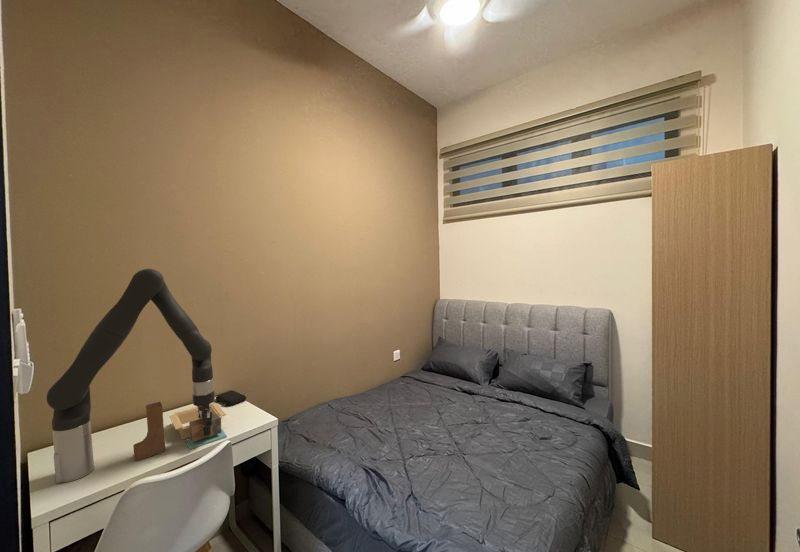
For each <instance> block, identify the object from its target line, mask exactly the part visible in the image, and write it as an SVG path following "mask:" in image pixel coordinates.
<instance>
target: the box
mask: <svg viewBox="0 0 800 552" xmlns="http://www.w3.org/2000/svg"><path fill="white" fill-rule="evenodd" d="M203 419H204V418H203ZM188 423H189V426H190V437H189V439H190V438H191V439H192V441H193V442H194V441H197V440H200V439H203V438H207V437H210V436H213V435H216V434H219V433H221V429H222V419H221V418H220V417H219V415H218V414H215V415H212V426H210V430H211V434H210V435H208V436H204V427H203V421H201V419H198V420H195V421H191V422H188ZM207 423H209V422H207Z"/></svg>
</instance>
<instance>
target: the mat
mask: <svg viewBox="0 0 800 552" xmlns="http://www.w3.org/2000/svg"><path fill="white" fill-rule="evenodd" d="M225 438H226V439H227V438H228V435H227V434H226V433H225V431H224V430H223V429H222V428H221V433H219V434H216V435H213V436H210V437H207V438H203V439H200V440H197V441H194V442H193V441H192V439H191V438H190V437H189V438H186V439H185V443H186V445H187V447H189V448H188V449H190V450H193V449H196V448H200V447H203V446H204V445H208V444H211V443H213V442H216V441H220V440H223V439H225Z"/></svg>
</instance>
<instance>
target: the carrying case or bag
mask: <svg viewBox="0 0 800 552" xmlns="http://www.w3.org/2000/svg"><path fill="white" fill-rule="evenodd" d="M246 400H247V396H246V395H244V394H242V393H240V392H238V391H236V390H231V389H230V390H228V391H225V392H223V393H219V394H218V395H216V397H215V401H217V402H219V403H221V404H222V405H223V406H227V407H233V406H235V405H238V404H241V403H243V402H245V401H246Z"/></svg>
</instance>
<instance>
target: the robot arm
mask: <svg viewBox="0 0 800 552" xmlns="http://www.w3.org/2000/svg"><path fill="white" fill-rule="evenodd" d="M150 301H152V303H153V304H154V305H155V306H156V308H157V309H158V310H159V312H160V313H161V315H162V317H163V319H164V320H165V322H166V323H167V325H168V326H169V327H170V330H171V331H172V332H173V333H174V334H175V336H176V337H177V338H178V339H179V341H181V342H182V344H183V346H184V348H185V349H186V351H187V353H189V355H190V356H191V364H192V366H191V367H192V368H191V380H192V384H191V392H192V396H191V397H192V405H194V406H195V407H198V418H200V419H201V421H203V427H204V436H208V435H210V434H211V430H210V426H212V412H211V407H209V404H213V402H215V401H216V397H215V396H216V395H215V393H216V392H215V381H214V371H213V365H212V352H213V351H212V344H211V342H210V341H208V340H207V339H206V338H204V336H203V335H202V334H201V333H200V331H199V328H198V327H197V325H196V324H195V322H194V321H193V320H192V319H191V317H190V316H189V315H188V314H187V312H186V311H185V310H184V309H183V308H182V306H181V305H180V304H179V302H177V300H176V299H175V298H174V296H173V294H172V292H171V291H170V289H169V287H168V285H167V283H166V282H165V278H164V276H163V274H162V273H161V272H160V271H159V270H157V269H153V268H145V269H144V268H143V269H140V270H139V271H137V272H135V274H133V276H132V278H131V280H130V282H129V283H128V285H127V287H126V289H125V290H124V292H123V293H122V295H121V297H120V298H119V300H118V301H117V302H116V304H115V305H113V307H112V308H111V309H110V310H109V311H108V312H107V313H106V314H105V315H104V316H103V317H102V319H101V320H100V321H99V322H98V324H97V325H95V328H94V329H92V332H90V334H89V336H88V337H87V339H86V340H85V342H84V344H83V345H82V347H81V348H80V351H79V352H78V353H77V355H76V357H75V359H74V361H73V362H72V363H71V365H70V366H69V368H68V369H67V370H66V371H65V372H64V373H63V375H62V376H61V377H60V378H59V379H58V380H57V381H55V383H53V385H52V386H50V388H49V389H48V391H47V393H46V403H47V404H48V406H49V407H50V408H51V409H52V410H53V416H52V420H51V428H52V429H51V431H52V440H53V441H52V442H53V451H54V452H53V463H54V472H55V473H54V475H55V477H54V478H55V484H56V485H57V484H60V483H68V482H73V481H76V480H78V479H81V478H84V477H85V476H87V475H89V474H91V472H93V471H94V470H95V460H94V451H93V449H94V448H93V447H94V446H93V437H92V436H93V435H92V428H91V427H92V424H91V409H92V405H91V401H92V400H91V390H90V389H91V388H90V386H91V383H92V382H93V380H94V379H95V377H96V375H97V374H98V373H99V371H101V369H102V368H103V367H104V366H105V365H106V363H108V361H109V360H110V359H111V358H112V357H113V356H114V355H115V353H116V352H117V351H118V350H119V349H120V347H121V346H122V345H123V343H124V342H125V340H126V339H127V337H128V336H129V335H130V333H131V331H132V330H133V328H134V326H135V324H136V323H137V321H138V318H139V317H140V314H141V313H142V311H143V310H144V308H145V307H146V306H147V305H148V303H149V302H150ZM203 418H204V419H203ZM207 422H209V423H207Z"/></svg>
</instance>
